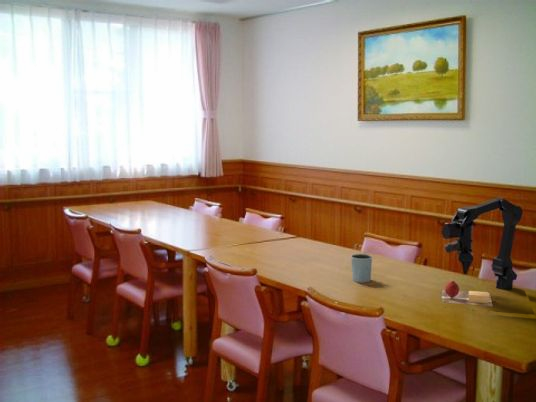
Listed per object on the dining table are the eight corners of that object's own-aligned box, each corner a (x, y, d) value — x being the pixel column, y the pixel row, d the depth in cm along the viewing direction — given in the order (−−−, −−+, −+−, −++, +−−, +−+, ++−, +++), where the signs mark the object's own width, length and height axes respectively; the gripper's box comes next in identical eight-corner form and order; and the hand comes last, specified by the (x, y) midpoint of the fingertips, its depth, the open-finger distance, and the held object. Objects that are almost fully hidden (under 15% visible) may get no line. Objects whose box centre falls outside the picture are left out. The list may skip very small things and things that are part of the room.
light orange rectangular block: (488, 299, 250) (488, 292, 250) (488, 303, 245) (489, 296, 244) (468, 297, 253) (469, 290, 252) (468, 301, 247) (468, 294, 247)
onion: (455, 295, 255) (456, 277, 254) (460, 299, 250) (461, 281, 249) (442, 295, 255) (443, 278, 254) (447, 299, 249) (448, 281, 248)
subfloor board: (489, 296, 258) (489, 293, 258) (492, 309, 241) (492, 306, 241) (442, 293, 264) (442, 289, 264) (441, 305, 247) (441, 301, 247)
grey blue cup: (371, 283, 280) (371, 259, 278) (349, 282, 282) (350, 258, 280) (371, 278, 289) (372, 254, 288) (351, 276, 291) (351, 253, 290)
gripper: (445, 231, 266) (445, 265, 269) (445, 240, 249) (445, 276, 251) (471, 232, 263) (470, 266, 266) (473, 241, 246) (473, 277, 248)
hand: (464, 271), depth 258 cm, fingers open, 9 cm apart
